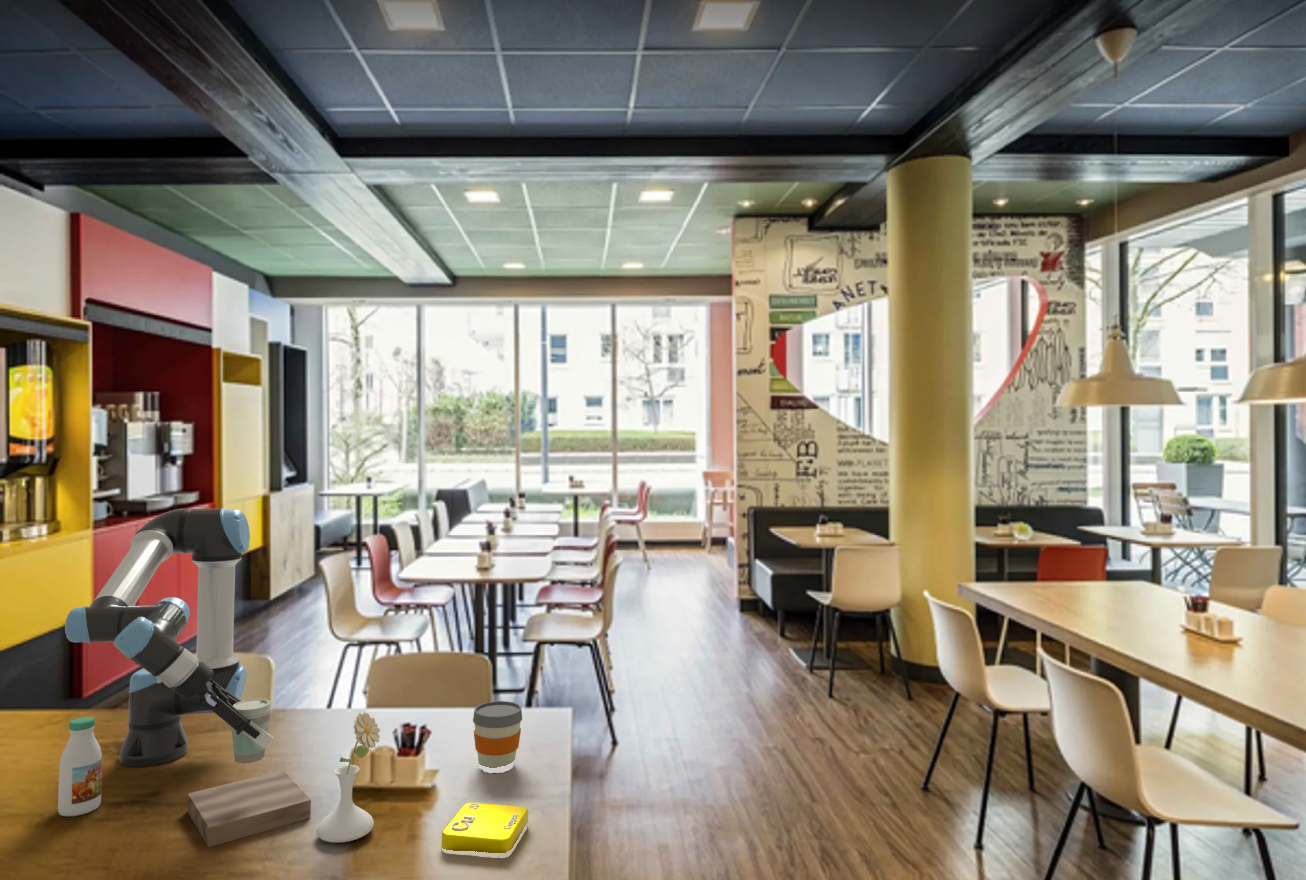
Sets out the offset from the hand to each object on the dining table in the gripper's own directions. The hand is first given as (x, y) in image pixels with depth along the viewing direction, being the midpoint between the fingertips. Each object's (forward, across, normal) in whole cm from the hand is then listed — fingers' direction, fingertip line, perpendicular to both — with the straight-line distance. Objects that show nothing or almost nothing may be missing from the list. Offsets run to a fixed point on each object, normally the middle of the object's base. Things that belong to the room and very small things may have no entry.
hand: (266, 736), depth 174 cm
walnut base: (+10, 0, -14) cm, 17 cm away
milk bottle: (-13, -21, -37) cm, 44 cm away
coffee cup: (+1, 0, -6) cm, 6 cm away
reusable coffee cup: (+50, +2, +26) cm, 57 cm away
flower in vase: (+22, +19, -2) cm, 29 cm away
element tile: (+40, +35, +15) cm, 56 cm away
